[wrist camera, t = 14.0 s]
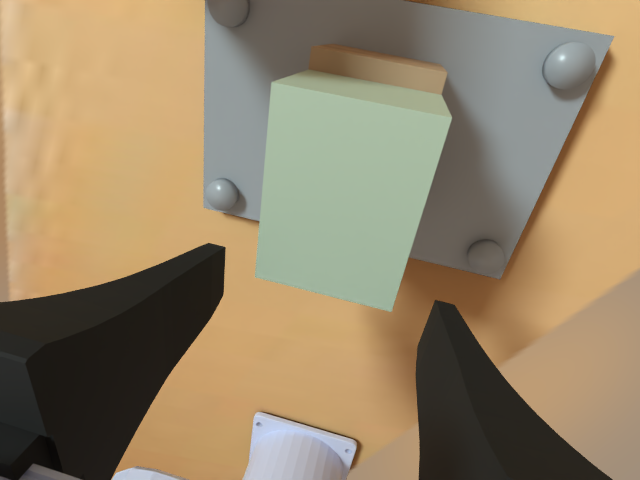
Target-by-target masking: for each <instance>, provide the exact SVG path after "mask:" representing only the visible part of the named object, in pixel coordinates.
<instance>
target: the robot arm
mask: <svg viewBox="0 0 640 480" xmlns="http://www.w3.org/2000/svg"><path fill="white" fill-rule="evenodd" d="M224 269H225V247H223V246H219V245H215V244H211V243H208V244H205V245H202V246H200V247H198V248H195V249H193V250H191V251H188V252H186V253H184V254H182V255H179V256H177V257H175V258H173V259H170V260H168V261H166V262H163V263H161V264H159V265H156V266H153V267H151V268H148V269H146V270H143V271H140V272H138V273H135V274H133V275H130V276H127V277H124V278H121V279H118V280H115V281H111V282H108V283H104V284H101V285H97V286H93V287H89V288H85V289H80V290H76V291H71V292H67V293H62V294H57V295H51V296H46V297H40V298H33V299H26V300H18V301H10V302H0V480H111V478H112V476H113V474H114V472H115V470H116V468H117V466H118V464H119V462H120V460H121V458H122V457H123V455H124V453H125V451H126V449H127V447H128V445H129V443H130V442H131V440H132V438H133V436H134V434H135V432H136V430H137V429H138V427H139V425H140V423H141V421H142V420H143V418H144V416H145V414H146V413H147V411H148V409H149V407H150V405H151V404H152V402H153V400H154V399H155V397H156V395H157V394H158V392H159V390H160V389H161V387H162V385H163V384H164V382H165V380H166V379H167V377H168V376H169V374H170V373H171V371H172V370H173V368H174V367H175V366H176V364H177V363H178V362H179V360H180V359H181V358H182V356H183V355H184V354H185V352H186V351H187V350H188V348H189V347H190V346H191V344H192V343H193V342H194V340H195V339H196V338H197V336H198V335H199V333H200V332H201V331H202V329H203V328H204V327H205V325H206V324H207V323H208V321H209V320H210V318H211V317H212V315H213V313H214V311H215V310H216V308H217V306H218V304H219V302H220V300H221V298H222V297H223V292H224ZM416 390H417V406H418V422H419V438H420V461H419V480H612V479H611V478H610V477H609V476H607V475H606V474H605V473H603V472H602V471H600V470H599V469H598V468H597V467H595V466H594V465H593V464H592V463H591V462H589V461H588V460H587V459H586V458H585V457H583V456H582V455H581V454H580V453H579V452H577V451H576V450H575V449H574V448H573V447H572V446H570V445H569V444H568V443H567V442H566V441H565V440H564V439H563V438H561V437H560V436H559V435H558V434H557V433H556V432H555V431H554V430H553V429H552V428H551V427H550V426H549V425H548V424H547V423H546V422H545V421H544V420H542V419H541V418H540V417H539V416H538V415H537V414H536V413H535V412H534V411H533V410H532V409H531V408H530V407H529V405H528V404H527V403H526V402H525V401H524V400H523V399H522V398H521V397H520V396H519V395H518V393H517V392H516V391H515V390H514V389H513V388H512V387H511V385H510V384H509V383H508V382H507V381H506V379H505V378H504V377H503V376H502V375H501V373H500V372H499V370H498V369H497V368H496V366H495V365H494V364H493V363H492V361H491V360H490V359H489V357H488V356H487V354H486V353H485V352H484V350H483V349H482V347H481V346H480V344H479V343H478V341H477V340H476V338H475V337H474V335H473V334H472V332H471V331H470V329H469V327H468V326H467V324H466V323H465V321H464V319H463V318H462V316H461V315H460V313H459V311H458V310H457V308H456V307H455V305H453V304H449V303H445V302H441V301H437V300H435V302H434V305H433V307H432V310H431V313H430V315H429V318H428V321H427V323H426V326H425V328H424V331H423V334H422V336H421V339H420V342H419V344H418V349H417V361H416ZM356 449H357V443H356V441H355V440H353V439H350V438H347V437H344V436H340V435H337V434H333V433H330V432H327V431H323V430H320V429H317V428H313V427H310V426H306V425H303V424H300V423H296V422H293V421H290V420H286V419H283V418H279V417H276V416H273V415H269V414H266V413H263V412H257V413H256V414H255V416H254V421H253V430H252V439H251V448H250V457H249V464H248V467H247V469H246V472H245V475H244V477H243V480H346V479H347V476H348V473H349V470H350V467H351V464H352V461H353V458H354V455H355V452H356ZM112 480H189V479H186V478H182V477H179V476H176V475H173V474H170V473H167V472H164V471H161V470H158V469H151V468H145V467H139V466H137V467H133V468H130V469H127V470H124V471H121V472H118V473H116V474H115V476H114V477H113V479H112Z"/></svg>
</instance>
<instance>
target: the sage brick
mask: <svg viewBox="0 0 640 480" xmlns="http://www.w3.org/2000/svg"><path fill="white" fill-rule="evenodd" d="M451 120H452V116H451V114H450V112H449V110H448V108H447V105H446V103H445V101H444V99H443V97H442V95H440V94H434V93H429V92H424V91H419V90H414V89H408V88H403V87H398V86H393V85H387V84H382V83H377V82H372V81H366V80H361V79H356V78H351V77H346V76H340V75H335V74H330V73H325V72H319V71H314V70H309V69H308V70H306V71H303V72H300V73H297V74H294V75H291V76H288V77H285V78H282V79H279V80H276V81H273V82H271V93H270V105H269V117H268V128H267V140H266V152H265V164H264V176H263V187H262V199H261V211H260V223H259V235H258V246H257V258H256V270H255V277H256V278H260V279H264V280H268V281H272V282H276V283H280V284H284V285H288V286H292V287H295V288H299V289H303V290H307V291H311V292H315V293H319V294H323V295H327V296H331V297H335V298H339V299H342V300H346V301H350V302H354V303H358V304H362V305H366V306H370V307H374V308H378V309H382V310H386V311H389V312H392V309H393V305H394V302H395V299H396V296H397V293H398V289H399V286H400V283H401V280H402V277H403V273H404V270H405V267H406V264H407V261H408V257H409V254H410V251H411V248H412V245H413V241H414V238H415V235H416V232H417V229H418V225H419V222H420V219H421V216H422V213H423V209H424V206H425V203H426V200H427V197H428V193H429V190H430V187H431V184H432V181H433V177H434V174H435V171H436V168H437V165H438V161H439V158H440V155H441V152H442V149H443V145H444V142H445V139H446V136H447V133H448V129H449V126H450V123H451Z"/></svg>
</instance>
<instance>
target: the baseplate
mask: <svg viewBox="0 0 640 480" xmlns="http://www.w3.org/2000/svg"><path fill="white" fill-rule="evenodd" d="M613 38H614V36H610V35H604V34H598V33H592V32H586V31H581V30H575V29H569V28H563V27H557V26H551V25H545V24H539V23H534V22H528V21H522V20H516V19H510V18H504V17H498V16H492V15H487V14H481V13H475V12H469V11H463V10H457V9H451V8H445V7H440V6H434V5H428V4H422V3H416V2H410V1H404V0H205V84H204V208H207V209H211V210H215V211H219V212H223V213H227V214H231V215H236V216H240V217H244V218H248V219H252V220H256V221H260V211H261V199H262V187H263V176H264V164H265V152H266V140H267V128H268V117H269V105H270V93H271V82H273V81H276V80H279V79H282V78H285V77H288V76H291V75H294V74H297V73H300V72H303V71H306V70H308V68H309V60H310V52H311V46H318V45H326V44H337V45H343V46H348V47H353V48H358V49H364V50H369V51H374V52H379V53H385V54H390V55H395V56H400V57H406V58H411V59H416V60H421V61H427V62H432V63H437V64H441V65H442V67H443V68H444V69H445V70H446V71H447V72H448V74H447V77H446V81H445V84H444V87H443V91H442V94H441V95H442V97H443V99H444V101H445V103H446V105H447V108H448V110H449V112H450V114H451V116H452V120H451V123H450V126H449V129H448V133H447V136H446V139H445V142H444V145H443V149H442V152H441V155H440V158H439V161H438V165H437V168H436V171H435V174H434V177H433V181H432V184H431V187H430V190H429V193H428V197H427V200H426V203H425V206H424V209H423V213H422V216H421V219H420V222H419V225H418V229H417V232H416V235H415V238H414V241H413V245H412V248H411V251H410V254H409V257H410V258H414V259H418V260H422V261H426V262H430V263H434V264H439V265H443V266H447V267H451V268H455V269H459V270H463V271H468V272H472V273H476V274H480V275H484V276H488V277H492V278H497V279H500V278H501V276H502V274H503V272H504V270H505V268H506V266H507V264H508V261H509V259H510V257H511V255H512V253H513V251H514V249H515V247H516V244H517V242H518V240H519V238H520V236H521V234H522V232H523V229H524V227H525V225H526V223H527V221H528V219H529V217H530V215H531V212H532V210H533V208H534V206H535V204H536V202H537V200H538V198H539V195H540V193H541V191H542V189H543V187H544V185H545V183H546V181H547V178H548V176H549V174H550V172H551V170H552V168H553V166H554V164H555V161H556V159H557V157H558V155H559V153H560V151H561V149H562V146H563V144H564V142H565V140H566V138H567V136H568V134H569V132H570V129H571V127H572V125H573V123H574V121H575V119H576V117H577V115H578V112H579V110H580V108H581V106H582V104H583V102H584V100H585V98H586V95H587V93H588V91H589V89H590V87H591V85H592V83H593V81H594V78H595V76H596V74H597V72H598V70H599V68H600V66H601V63H602V61H603V59H604V57H605V55H606V53H607V51H608V49H609V46H610V44H611V42H612V40H613Z"/></svg>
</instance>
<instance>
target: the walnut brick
mask: <svg viewBox="0 0 640 480" xmlns="http://www.w3.org/2000/svg"><path fill="white" fill-rule="evenodd" d="M308 69H309V70H314V71H319V72H325V73H330V74H335V75H340V76H346V77H351V78H356V79H361V80H366V81H372V82H377V83H382V84H387V85H393V86H398V87H403V88H408V89H414V90H419V91H424V92H429V93H434V94H440V95H441V94H442V91H443V87H444V84H445V81H446V77H447V74H448V72H447V71H446V70H445V69H444V68H443V67H442V65H441V64H437V63H432V62H427V61H421V60H416V59H411V58H406V57H400V56H395V55H390V54H385V53H379V52H374V51H369V50H364V49H358V48H353V47H348V46H343V45H337V44H326V45H318V46H311V52H310V60H309V68H308Z"/></svg>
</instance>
